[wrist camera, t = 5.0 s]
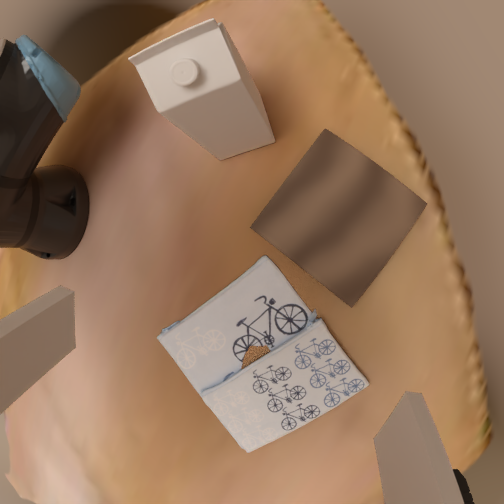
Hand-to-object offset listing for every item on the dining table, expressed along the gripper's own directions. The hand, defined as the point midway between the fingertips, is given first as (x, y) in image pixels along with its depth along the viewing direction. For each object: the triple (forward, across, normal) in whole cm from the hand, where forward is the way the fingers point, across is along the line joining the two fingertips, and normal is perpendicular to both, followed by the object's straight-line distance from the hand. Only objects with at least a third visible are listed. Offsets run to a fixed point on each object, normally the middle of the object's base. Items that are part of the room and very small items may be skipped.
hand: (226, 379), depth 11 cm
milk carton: (+30, -8, +11) cm, 33 cm away
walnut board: (+26, +6, +4) cm, 27 cm away
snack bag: (+23, +2, -15) cm, 28 cm away
